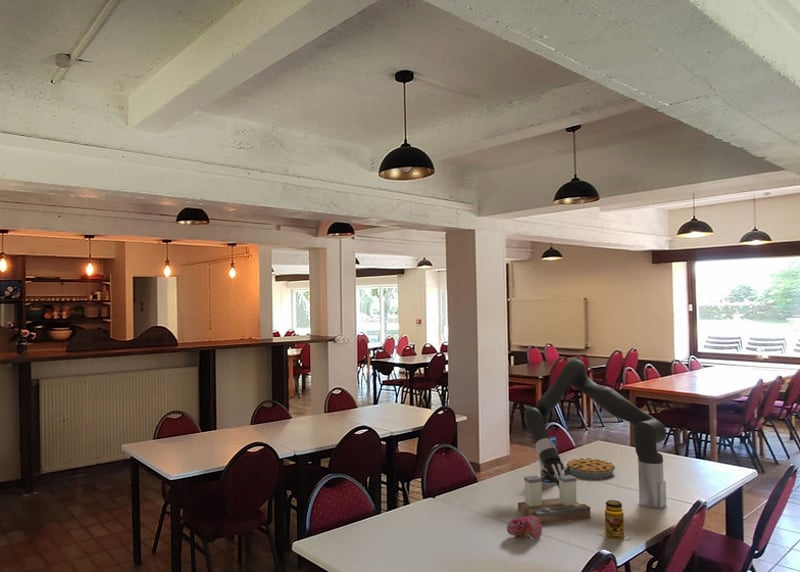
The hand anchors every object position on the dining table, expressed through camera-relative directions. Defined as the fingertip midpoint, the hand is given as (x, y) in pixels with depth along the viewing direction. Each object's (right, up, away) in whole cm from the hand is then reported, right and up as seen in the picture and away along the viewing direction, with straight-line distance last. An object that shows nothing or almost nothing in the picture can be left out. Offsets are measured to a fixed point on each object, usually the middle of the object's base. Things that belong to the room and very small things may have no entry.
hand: (564, 490), depth 227 cm
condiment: (+10, -7, -26) cm, 29 cm away
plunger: (-13, -4, -3) cm, 14 cm away
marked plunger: (+1, -4, -3) cm, 5 cm away
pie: (+26, -9, +48) cm, 56 cm away
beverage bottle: (+3, -9, +35) cm, 36 cm away
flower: (-21, -7, -27) cm, 35 cm away
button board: (-5, -7, -4) cm, 10 cm away
